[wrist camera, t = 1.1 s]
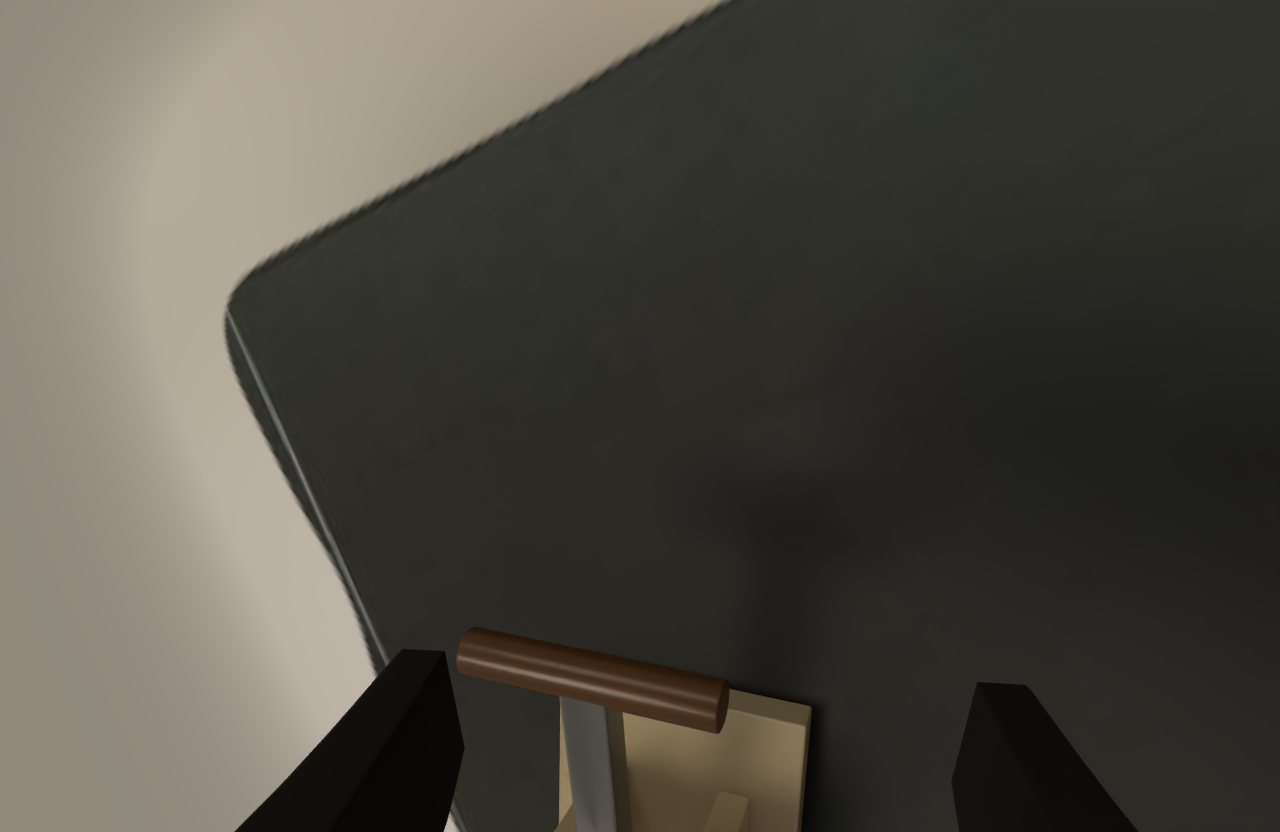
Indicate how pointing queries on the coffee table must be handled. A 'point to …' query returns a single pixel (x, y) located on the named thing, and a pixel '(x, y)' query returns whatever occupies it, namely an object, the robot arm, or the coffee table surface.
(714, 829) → the bracket
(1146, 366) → the coffee table surface
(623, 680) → the lever
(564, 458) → the coffee table surface
